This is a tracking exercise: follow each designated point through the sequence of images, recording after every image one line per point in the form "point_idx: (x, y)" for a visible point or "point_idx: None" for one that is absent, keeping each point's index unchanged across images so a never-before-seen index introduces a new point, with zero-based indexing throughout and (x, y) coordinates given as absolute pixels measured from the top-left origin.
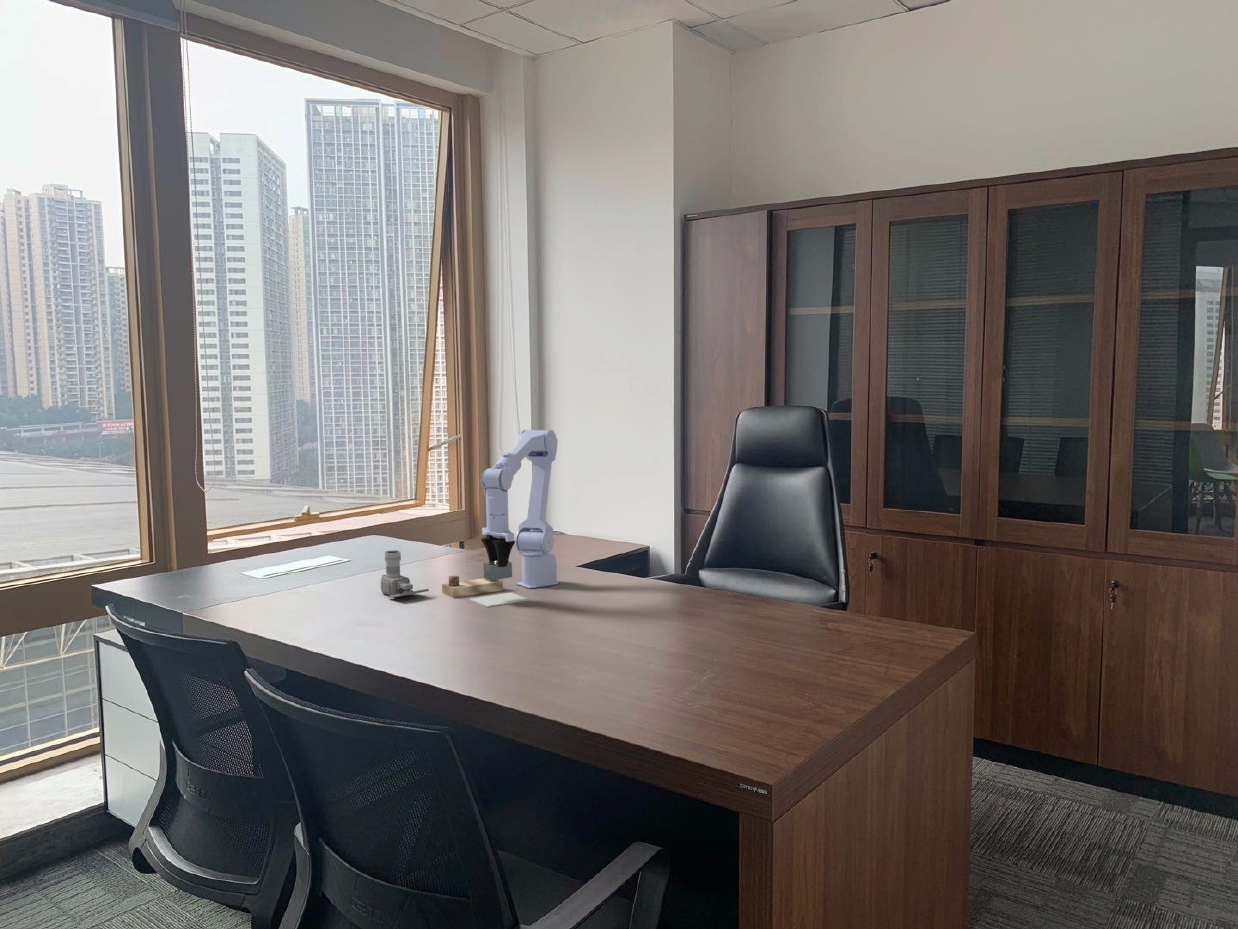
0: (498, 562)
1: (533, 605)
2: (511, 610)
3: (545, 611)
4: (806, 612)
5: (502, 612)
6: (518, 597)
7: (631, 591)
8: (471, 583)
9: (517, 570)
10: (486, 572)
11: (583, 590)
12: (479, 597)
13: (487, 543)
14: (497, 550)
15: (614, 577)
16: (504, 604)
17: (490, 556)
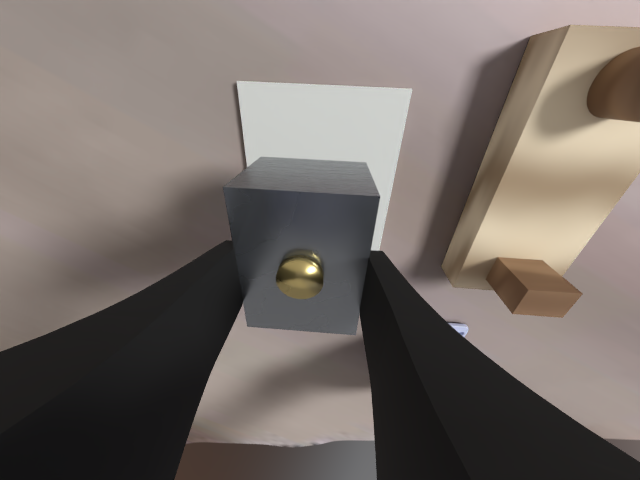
0: (216, 253)
1: (193, 229)
2: (149, 136)
3: (101, 214)
4: None
5: (127, 87)
6: None
7: (225, 400)
8: (551, 185)
9: (590, 391)
10: (326, 170)
11: (285, 369)
12: (398, 137)
13: (426, 428)
14: (94, 329)
15: (345, 432)
16: (248, 164)
17: (378, 288)
